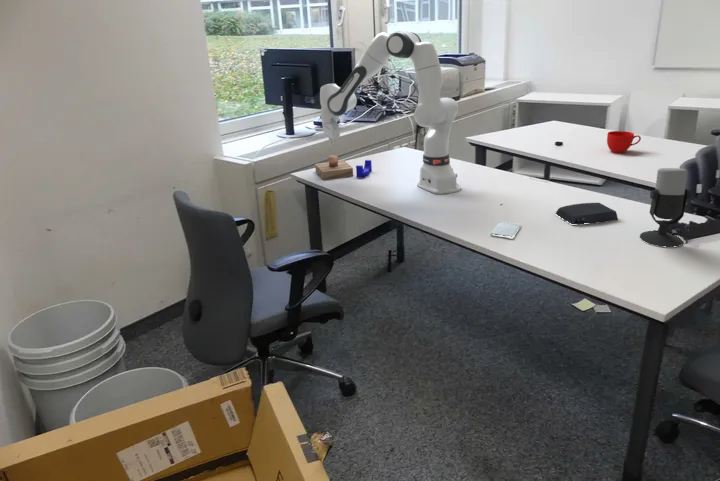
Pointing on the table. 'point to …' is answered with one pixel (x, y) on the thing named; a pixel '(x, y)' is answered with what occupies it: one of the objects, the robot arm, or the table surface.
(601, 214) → the external hard drive
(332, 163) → the peg
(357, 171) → the cable clip
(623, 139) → the ceramic cup
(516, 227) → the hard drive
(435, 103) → the robot arm
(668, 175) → the microphone
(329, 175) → the board
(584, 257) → the table surface
